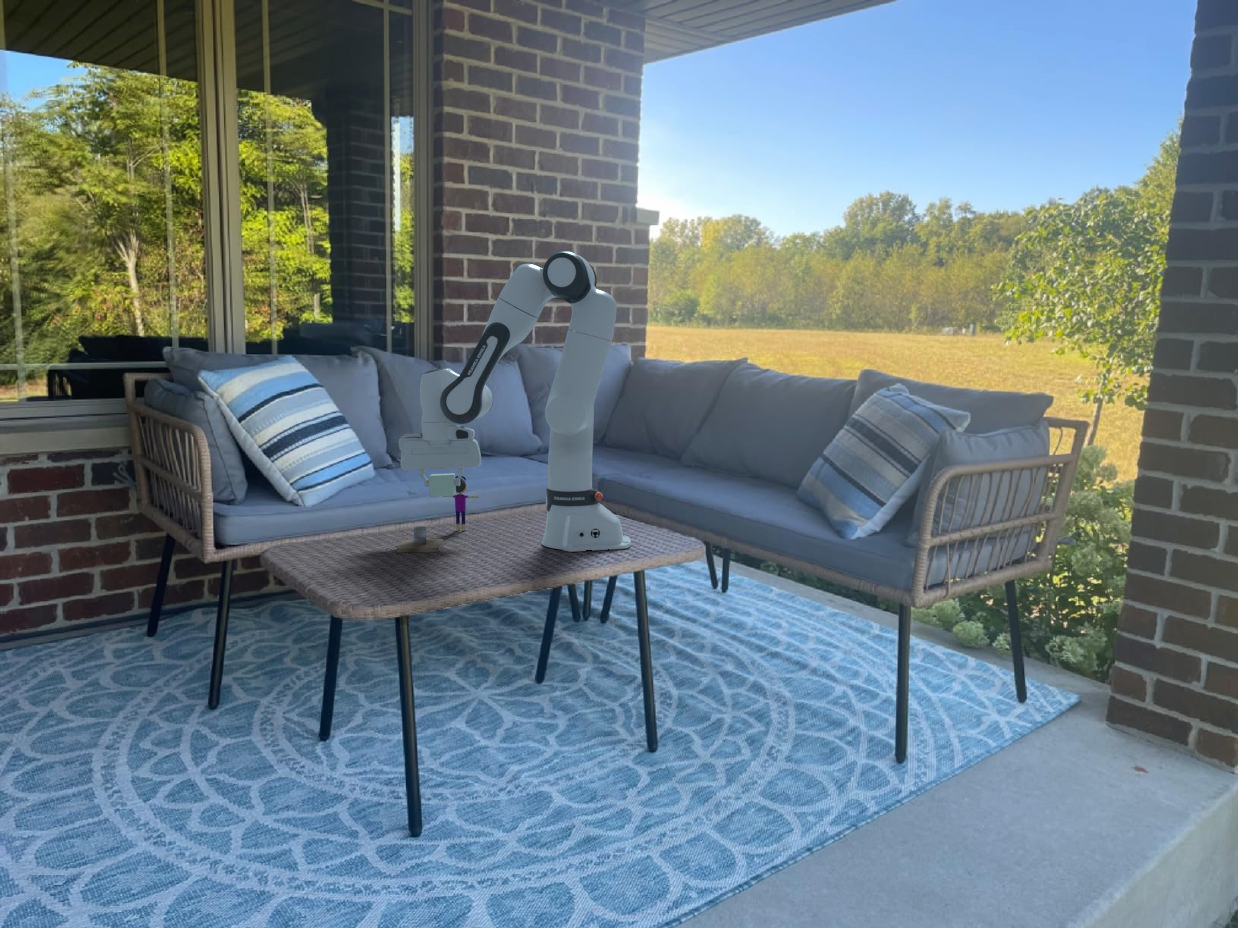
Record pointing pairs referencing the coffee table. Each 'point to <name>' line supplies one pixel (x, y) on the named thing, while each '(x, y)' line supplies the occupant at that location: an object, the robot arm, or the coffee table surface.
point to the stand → (420, 543)
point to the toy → (461, 503)
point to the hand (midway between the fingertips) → (442, 486)
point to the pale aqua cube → (442, 485)
